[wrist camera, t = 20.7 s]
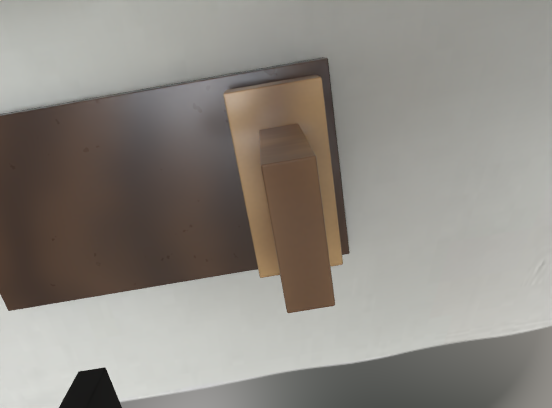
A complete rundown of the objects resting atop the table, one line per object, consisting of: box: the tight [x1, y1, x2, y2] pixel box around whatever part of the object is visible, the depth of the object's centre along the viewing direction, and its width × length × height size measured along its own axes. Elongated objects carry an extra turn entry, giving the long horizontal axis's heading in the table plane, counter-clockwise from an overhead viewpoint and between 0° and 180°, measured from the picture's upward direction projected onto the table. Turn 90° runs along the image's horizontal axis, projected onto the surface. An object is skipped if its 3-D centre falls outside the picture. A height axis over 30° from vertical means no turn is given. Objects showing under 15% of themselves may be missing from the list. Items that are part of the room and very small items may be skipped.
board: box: [0, 58, 349, 311], centre depth 31 cm, size 28×15×2 cm, turn 99°
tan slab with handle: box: [223, 75, 343, 313], centre depth 25 cm, size 6×13×12 cm, turn 9°
